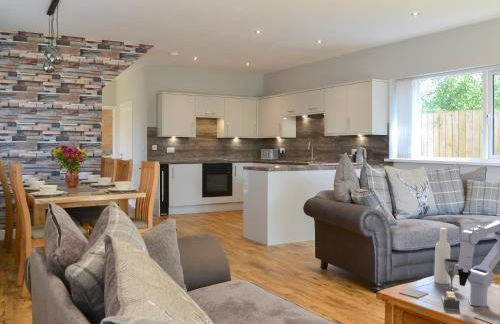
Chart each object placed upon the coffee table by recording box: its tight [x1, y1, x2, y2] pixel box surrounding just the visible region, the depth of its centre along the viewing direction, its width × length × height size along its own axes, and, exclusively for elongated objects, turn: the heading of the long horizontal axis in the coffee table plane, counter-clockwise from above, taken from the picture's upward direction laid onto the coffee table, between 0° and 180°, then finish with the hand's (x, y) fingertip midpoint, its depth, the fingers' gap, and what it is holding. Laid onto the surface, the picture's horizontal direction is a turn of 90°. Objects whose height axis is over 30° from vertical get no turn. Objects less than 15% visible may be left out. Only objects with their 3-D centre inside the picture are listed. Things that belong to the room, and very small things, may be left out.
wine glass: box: [443, 258, 461, 292], centre depth 247 cm, size 8×8×15 cm
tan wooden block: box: [445, 290, 457, 300], centre depth 219 cm, size 9×3×5 cm, turn 162°
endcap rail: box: [441, 295, 460, 312], centre depth 222 cm, size 16×6×5 cm, turn 162°
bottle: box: [433, 227, 452, 285], centre depth 258 cm, size 8×8×30 cm
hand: (462, 285), depth 218 cm, fingers closed
